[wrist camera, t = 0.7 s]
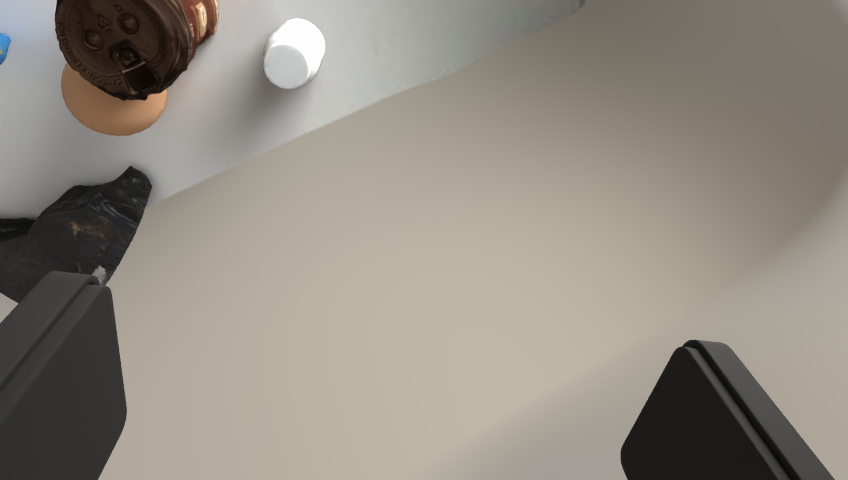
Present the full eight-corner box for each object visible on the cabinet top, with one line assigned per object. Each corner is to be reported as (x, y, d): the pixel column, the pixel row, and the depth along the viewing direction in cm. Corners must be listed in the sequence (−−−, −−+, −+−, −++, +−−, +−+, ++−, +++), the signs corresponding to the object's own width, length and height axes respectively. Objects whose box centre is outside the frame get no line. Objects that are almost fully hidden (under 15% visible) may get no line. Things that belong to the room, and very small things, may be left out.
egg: (196, 98, 49) (163, 131, 42) (126, 129, 50) (83, 166, 43) (145, 18, 45) (99, 39, 38) (71, 52, 46) (13, 79, 39)
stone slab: (110, 116, 50) (94, 140, 46) (215, 242, 60) (210, 270, 56) (-97, 214, 52) (-128, 245, 48) (40, 320, 62) (23, 353, 58)
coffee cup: (224, 75, 48) (176, 125, 37) (124, 47, 46) (42, 90, 35) (237, -30, 44) (188, -9, 33) (128, -65, 42) (37, -55, 31)
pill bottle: (272, 65, 48) (254, 89, 41) (276, 12, 46) (258, 30, 39) (322, 75, 49) (312, 101, 42) (328, 24, 47) (319, 43, 40)
